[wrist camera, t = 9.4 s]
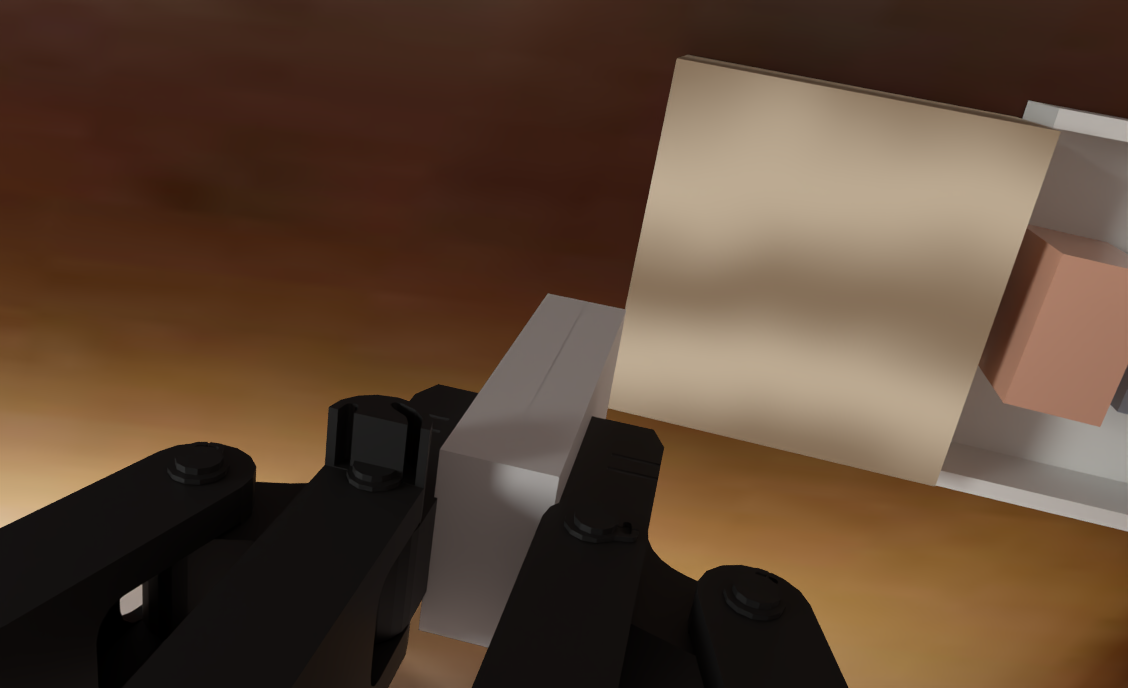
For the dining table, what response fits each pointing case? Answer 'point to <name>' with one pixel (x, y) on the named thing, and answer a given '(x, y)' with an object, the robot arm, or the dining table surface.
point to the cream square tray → (822, 264)
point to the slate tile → (1121, 395)
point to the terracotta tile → (1061, 327)
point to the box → (1034, 439)
